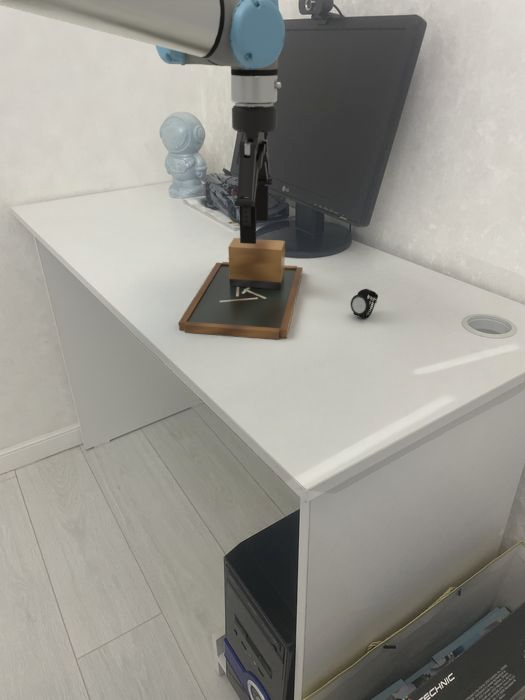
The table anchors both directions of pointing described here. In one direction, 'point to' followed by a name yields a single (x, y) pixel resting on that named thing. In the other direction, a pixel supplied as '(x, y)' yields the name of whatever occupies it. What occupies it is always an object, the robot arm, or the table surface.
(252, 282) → the eraser
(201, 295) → the slate board
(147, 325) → the table surface
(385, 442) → the table surface
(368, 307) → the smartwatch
